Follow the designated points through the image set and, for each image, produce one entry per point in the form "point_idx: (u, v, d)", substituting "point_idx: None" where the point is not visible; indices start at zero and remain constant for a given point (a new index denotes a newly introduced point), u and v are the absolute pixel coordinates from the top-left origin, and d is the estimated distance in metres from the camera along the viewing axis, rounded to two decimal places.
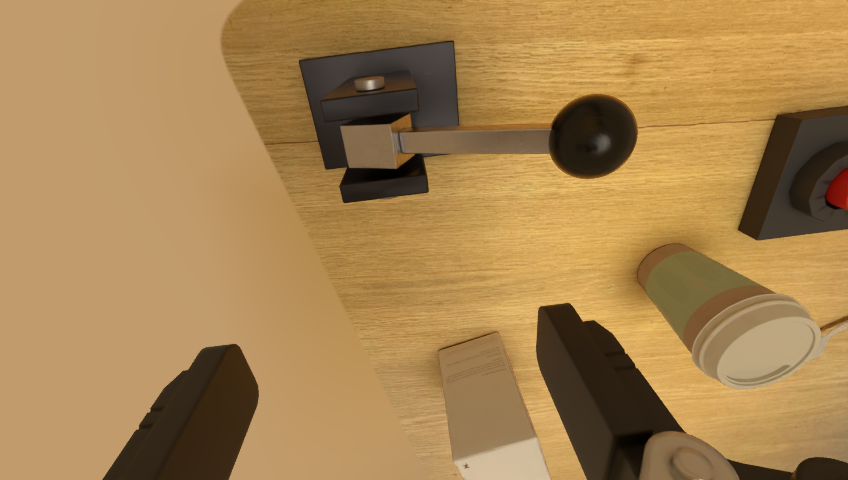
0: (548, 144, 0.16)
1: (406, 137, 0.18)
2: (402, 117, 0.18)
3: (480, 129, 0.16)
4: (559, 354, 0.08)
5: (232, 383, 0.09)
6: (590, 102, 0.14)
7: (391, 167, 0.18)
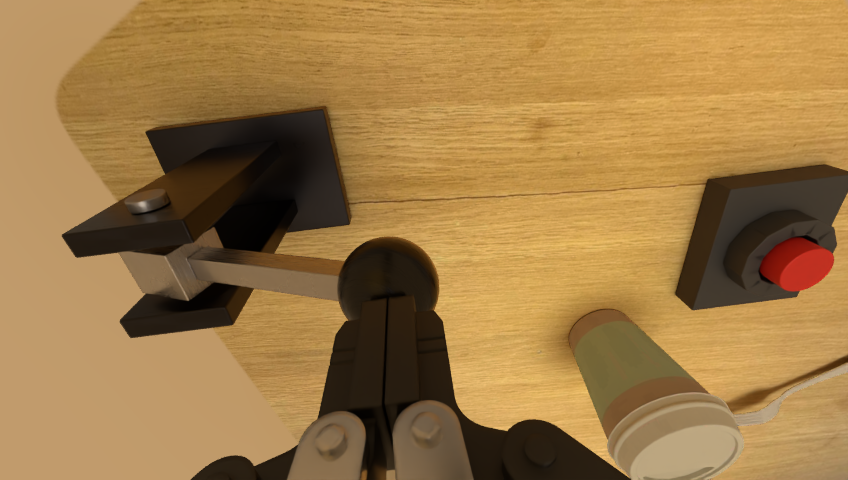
0: None
1: (196, 264, 0.15)
2: None
3: (268, 266, 0.13)
4: None
5: None
6: (367, 258, 0.11)
7: (182, 298, 0.15)
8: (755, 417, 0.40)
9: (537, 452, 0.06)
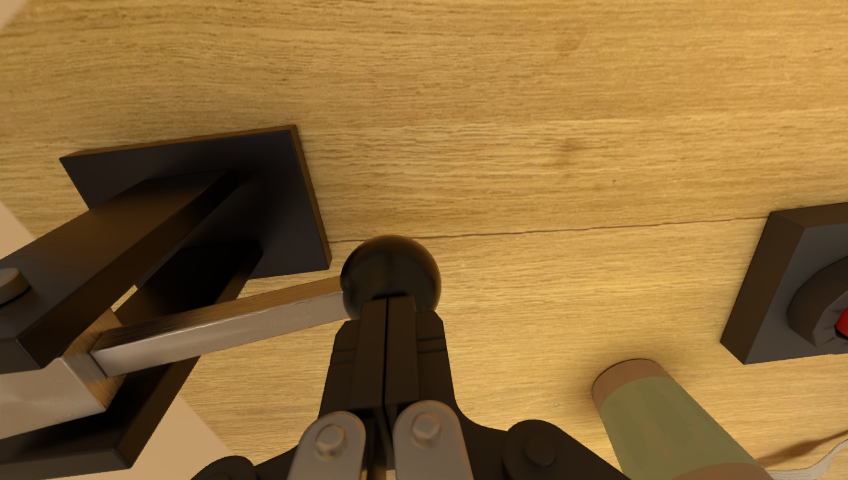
0: (344, 308, 0.12)
1: (109, 355, 0.10)
2: None
3: (241, 313, 0.11)
4: None
5: None
6: (382, 257, 0.11)
7: (93, 413, 0.10)
8: (803, 475, 0.35)
9: (537, 452, 0.06)
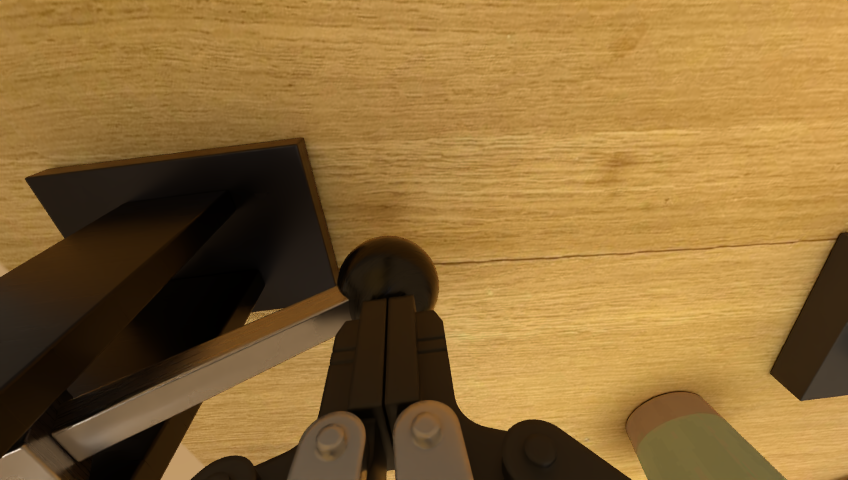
0: (349, 317, 0.11)
1: (78, 432, 0.08)
2: None
3: (243, 344, 0.10)
4: None
5: None
6: (387, 256, 0.11)
7: None
8: None
9: (537, 452, 0.06)
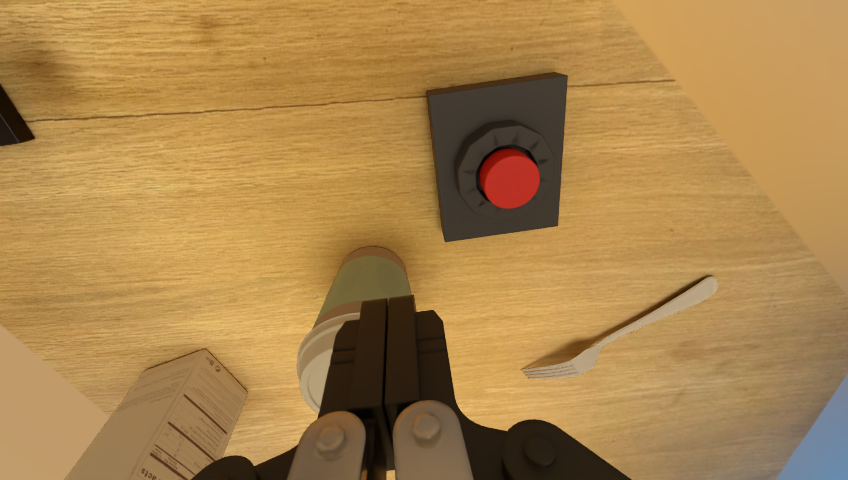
0: None
1: None
2: None
3: None
4: None
5: None
6: None
7: None
8: (571, 368, 0.38)
9: (537, 452, 0.06)
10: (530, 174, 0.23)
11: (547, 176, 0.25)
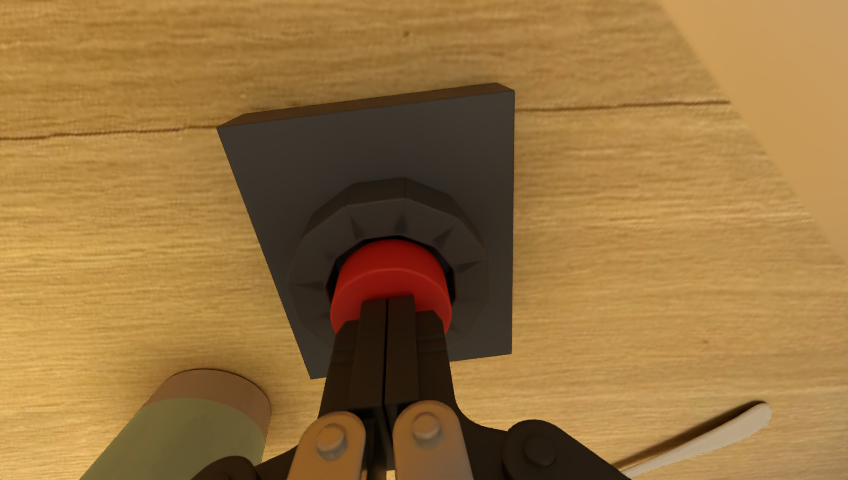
0: None
1: None
2: None
3: None
4: None
5: None
6: None
7: None
8: None
9: (537, 452, 0.06)
10: (428, 303, 0.11)
11: (477, 292, 0.12)
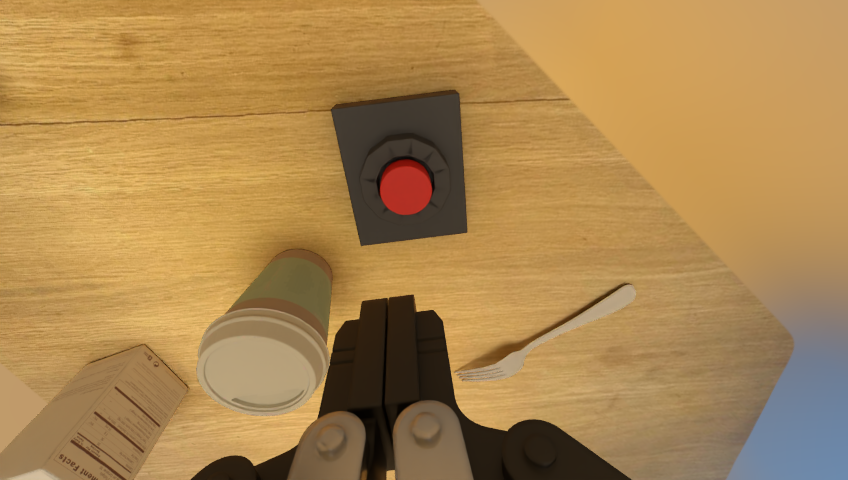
0: None
1: None
2: None
3: None
4: None
5: None
6: None
7: None
8: (499, 371, 0.39)
9: (537, 452, 0.06)
10: (422, 183, 0.25)
11: (444, 185, 0.27)
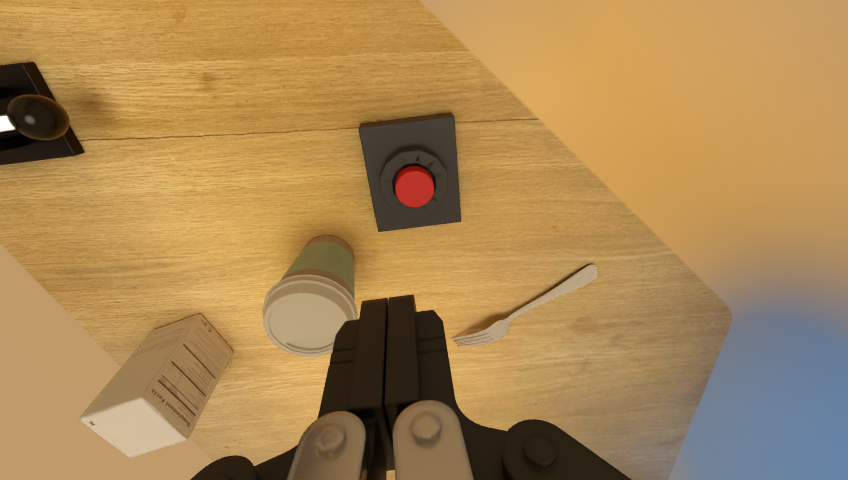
0: (10, 124, 0.28)
1: None
2: None
3: None
4: None
5: None
6: (21, 97, 0.27)
7: None
8: None
9: (537, 452, 0.06)
10: (426, 183, 0.34)
11: (443, 185, 0.35)
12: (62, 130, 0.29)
